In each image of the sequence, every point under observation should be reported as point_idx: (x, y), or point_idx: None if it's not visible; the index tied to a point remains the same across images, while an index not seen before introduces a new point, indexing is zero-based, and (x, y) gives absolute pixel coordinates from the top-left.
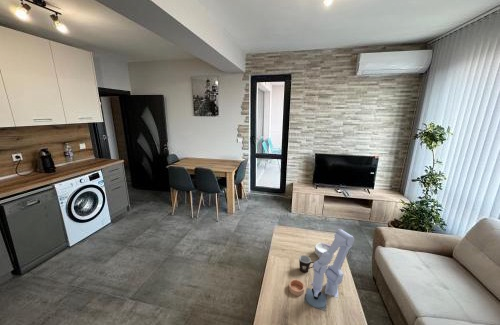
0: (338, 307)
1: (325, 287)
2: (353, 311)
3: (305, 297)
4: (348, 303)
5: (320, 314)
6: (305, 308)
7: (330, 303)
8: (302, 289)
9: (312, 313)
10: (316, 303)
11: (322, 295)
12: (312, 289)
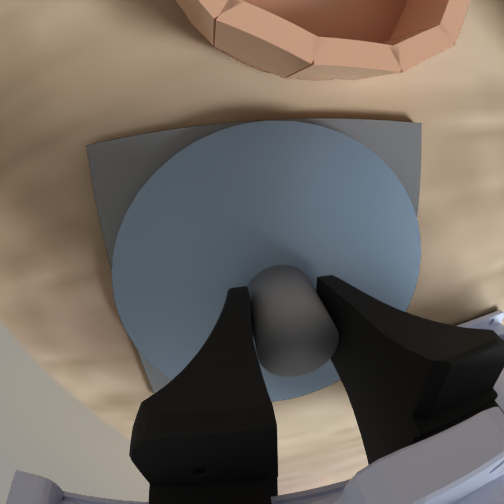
0: (281, 446)
1: (464, 326)
2: (292, 485)
3: (212, 131)
4: (346, 462)
5: (94, 362)
6: (40, 194)
7: (294, 406)
8: (286, 33)
9: (41, 290)
10: (179, 323)
11: None
12: (208, 440)
